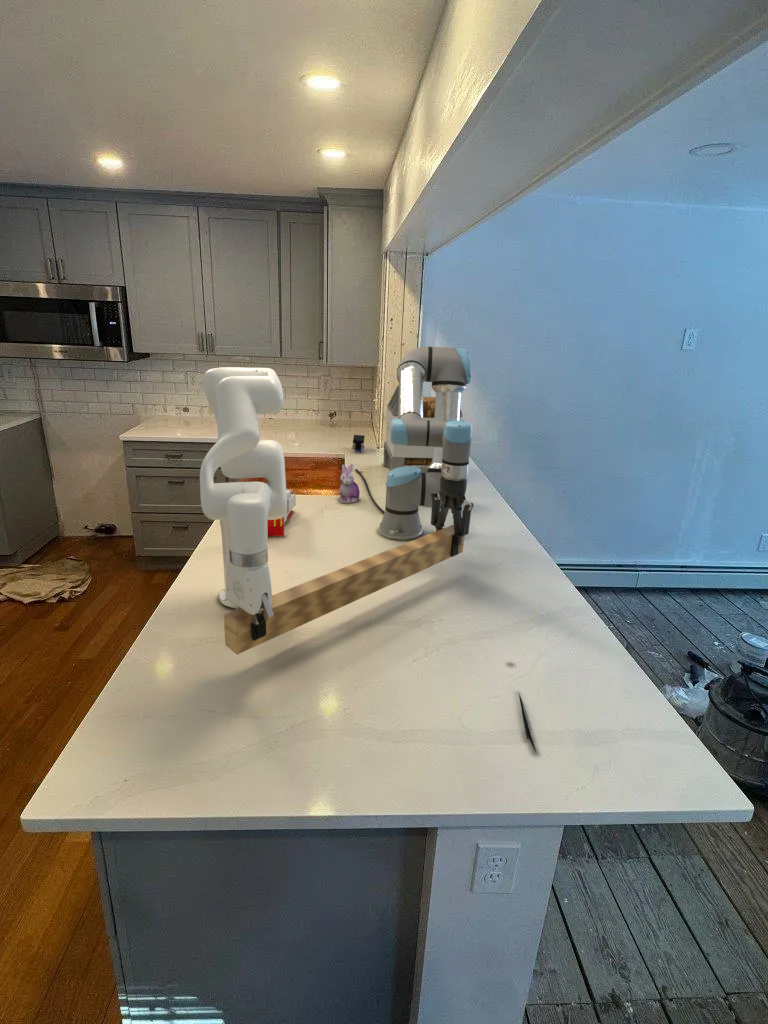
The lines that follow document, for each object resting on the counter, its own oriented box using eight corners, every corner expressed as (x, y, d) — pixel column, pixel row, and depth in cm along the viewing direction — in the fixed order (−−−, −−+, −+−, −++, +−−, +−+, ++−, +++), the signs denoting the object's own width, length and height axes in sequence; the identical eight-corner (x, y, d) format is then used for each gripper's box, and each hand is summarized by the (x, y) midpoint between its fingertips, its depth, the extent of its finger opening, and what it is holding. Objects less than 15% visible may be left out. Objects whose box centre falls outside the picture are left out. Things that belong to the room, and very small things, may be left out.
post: (450, 547, 172) (453, 524, 170) (462, 552, 169) (465, 529, 167) (225, 645, 119) (223, 614, 116) (236, 654, 116) (235, 623, 113)
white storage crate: (382, 463, 289) (386, 382, 275) (445, 464, 293) (451, 384, 279) (390, 482, 257) (394, 392, 243) (460, 483, 261) (468, 394, 247)
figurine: (343, 505, 225) (344, 468, 220) (333, 497, 234) (334, 462, 229) (364, 502, 230) (366, 466, 225) (354, 495, 238) (355, 460, 233)
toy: (297, 484, 217) (286, 498, 188) (297, 518, 220) (286, 537, 190) (265, 483, 217) (250, 497, 187) (266, 517, 219) (250, 537, 190)
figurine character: (364, 456, 306) (364, 446, 320) (364, 442, 303) (365, 433, 317) (351, 455, 306) (352, 446, 320) (352, 442, 303) (353, 433, 316)
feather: (511, 668, 129) (516, 662, 128) (535, 756, 102) (542, 749, 102) (505, 664, 129) (510, 658, 128) (527, 751, 102) (534, 744, 101)
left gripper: (209, 546, 116) (214, 622, 123) (257, 575, 105) (260, 657, 112) (241, 536, 121) (244, 610, 128) (290, 563, 111) (290, 642, 117)
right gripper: (421, 472, 162) (416, 546, 170) (472, 487, 151) (463, 566, 159) (437, 467, 167) (431, 539, 175) (487, 482, 156) (479, 558, 164)
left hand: (251, 631), depth 120 cm, fingers closed on post, 4 cm apart
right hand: (447, 552), depth 167 cm, fingers closed on post, 4 cm apart
